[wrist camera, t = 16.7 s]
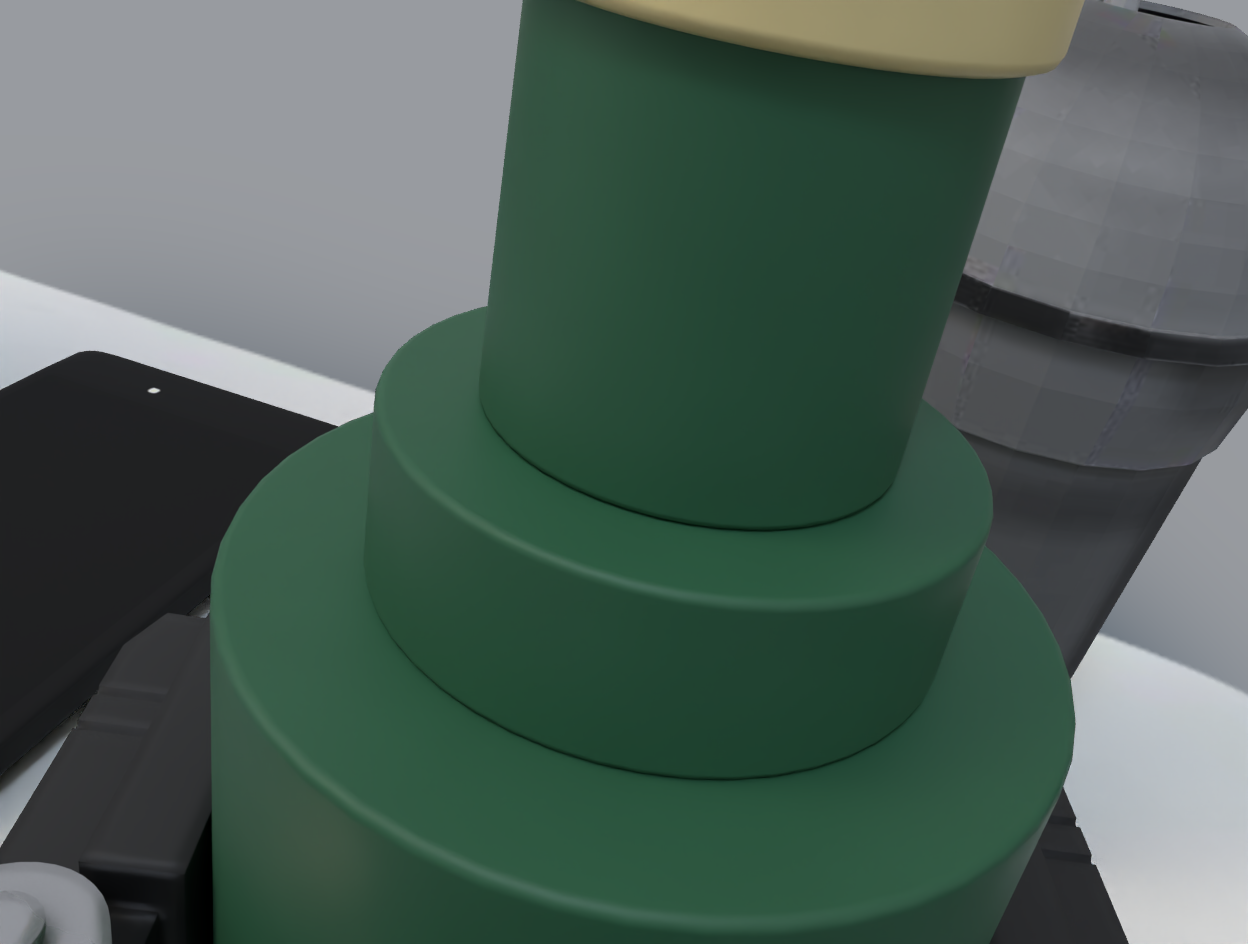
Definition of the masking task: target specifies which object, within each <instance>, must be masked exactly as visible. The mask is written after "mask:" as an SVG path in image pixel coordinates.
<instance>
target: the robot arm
mask: <svg viewBox="0 0 1248 944" xmlns="http://www.w3.org/2000/svg"><path fill="white" fill-rule="evenodd" d="M1075 822H1076V817H1075V814H1074V812H1073V810H1072V807H1071V805H1070V802H1069V800H1068V798H1067V795H1066V793H1065V790H1064V788H1062V791H1061V794H1060V797H1059V799H1058V801H1057V803H1056V805H1055V807H1054V809H1053V811H1052V813H1051V815H1050V817H1049V820H1048V822H1047V824H1046V826H1045V828H1044V830H1043V832H1042V834H1041V836H1040V838H1039V840H1038V843H1037V845H1036V847H1035V849H1034V851H1033V853H1032V855H1031V857H1030V859H1029V861H1028V863H1027V866H1026V868H1025V870H1024V872H1023V874H1022V876H1021V878H1020V880H1019V882H1018V884H1017V886H1016V889H1015V891H1014V893H1013V895H1012V897H1011V899H1010V901H1009V903H1008V905H1007V907H1006V909H1005V912H1004V914H1003V916H1002V918H1001V920H1000V922H999V924H998V926H997V928H996V930H995V932H994V935H993V937H992V939H991V941H990V943H989V944H1129V943H1128V941H1127V938H1126V936H1125V934H1124V931H1123V929H1122V926H1121V924H1120V922H1119V919H1118V917H1117V914H1116V912H1115V910H1114V907H1113V905H1112V903H1111V900H1110V898H1109V895H1108V893H1107V891H1106V888H1105V886H1104V883H1103V881H1102V879H1101V876H1100V874H1099V872H1098V869H1097V867H1096V865H1093V864H1091V856H1092V855H1091V852H1090V850H1089V848H1088V845H1087V843H1086V841H1085V838H1084V836H1083V833H1082V831H1081V829H1080V827H1076V825H1075ZM0 944H213V868H212V776H211V685H210V612H209V614H208V616H207V618H201V617H194V616H187V615H179V614H172V613H167V614H165V615H164V616H163V617H161V618H160V619H158V620H157V621H156V622H154V623H153V624H152V625H150V626H149V627H147V628H146V629H145V630H143V631H142V632H140V633H139V634H138V635H136V636H135V637H134V638H132V639H131V640H129V641H128V642H127V643H125V644H124V645H123V646H122V648H121V650H120V651H119V653H118V655H117V656H116V658H115V660H114V661H113V663H112V665H111V666H110V668H109V669H108V671H107V673H106V674H105V676H104V678H103V679H102V681H101V683H100V684H99V689H98V692H97V694H93V696H92V697H91V699H90V701H89V702H88V704H87V706H86V707H85V709H84V711H83V712H82V714H81V716H80V717H79V719H78V725H77V727H76V729H74V728H73V729H72V730H71V732H70V734H69V735H68V737H67V739H66V740H65V742H64V744H63V745H62V747H61V749H60V750H59V752H58V753H57V755H56V757H55V758H54V760H53V762H52V763H51V765H50V767H49V768H48V770H47V772H46V773H45V775H44V777H43V778H42V780H41V781H40V783H39V785H38V786H37V788H36V790H35V791H34V793H33V795H32V796H31V798H30V800H29V801H28V803H27V805H26V806H25V808H24V809H23V811H22V813H21V814H20V816H19V818H18V819H17V821H16V823H15V824H14V826H13V828H12V829H11V831H10V832H9V834H8V836H7V837H6V839H5V841H4V842H3V844H2V846H1V847H0Z"/></svg>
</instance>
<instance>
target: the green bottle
mask: <svg viewBox="0 0 1248 944" xmlns="http://www.w3.org/2000/svg"><path fill="white" fill-rule="evenodd" d="M1084 1H1085V0H523V3H522V12H521V20H520V29H519V38H518V47H517V56H516V64H515V72H514V81H513V90H512V98H511V107H510V116H509V124H508V133H507V142H506V150H505V159H504V168H503V177H502V185H501V194H500V202H499V211H498V219H497V229H496V237H495V246H494V254H493V264H492V271H491V280H490V289H489V298H488V306H486V307H481V308H477V309H474V310H471V311H468V312H464V313H461V314H458V315H455V316H452V317H450V318H448V319H445V320H443V321H441V322H438V323H436V324H434V325H432V326H430V327H429V328H427V329H425V330H423V331H422V332H420V333H418V334H417V335H416V336H414V337H413V338H411V339H410V340H409V341H408V342H407V343H405V344H404V345H403V346H402V347H401V348H400V349H398V351H397V352H396V353H395V355H394V356H393V357H392V359H391V360H390V361H389V363H388V364H387V365H386V367H385V369H384V370H383V372H382V375H381V377H380V380H379V382H378V385H377V387H376V391H375V401H374V413H371V414H368V415H365V416H363V417H360V418H357V419H354V420H352V421H349V422H347V423H345V424H343V425H341V426H339V427H337V428H335V429H333V430H331V431H329V432H327V433H325V434H323V435H321V436H319V437H317V438H315V439H314V440H312V441H311V442H309V443H308V444H306V445H305V446H303V447H302V448H300V449H299V450H297V451H295V452H294V453H292V454H291V455H289V456H288V457H287V458H285V459H284V460H283V461H282V462H281V463H280V464H279V465H278V466H276V467H275V468H274V469H273V470H272V471H271V472H270V473H268V474H267V475H266V476H265V477H264V478H263V479H262V480H261V481H260V482H259V483H258V485H257V486H256V487H255V488H254V490H253V491H252V492H251V493H250V494H249V496H248V497H247V498H246V499H245V501H244V502H243V503H242V504H241V506H240V507H239V509H238V511H237V513H236V515H235V517H234V518H233V520H232V522H231V524H230V526H229V528H228V530H227V532H226V534H225V536H224V537H223V539H222V541H221V543H220V547H219V551H218V554H217V558H216V561H215V565H214V569H213V572H212V576H211V595H210V685H211V776H212V868H213V944H989V943H990V941H991V939H992V937H993V935H994V932H995V930H996V928H997V926H998V924H999V922H1000V920H1001V918H1002V916H1003V914H1004V912H1005V909H1006V907H1007V905H1008V903H1009V901H1010V899H1011V897H1012V895H1013V893H1014V891H1015V889H1016V886H1017V884H1018V882H1019V880H1020V878H1021V876H1022V874H1023V872H1024V870H1025V868H1026V866H1027V863H1028V861H1029V859H1030V857H1031V855H1032V853H1033V851H1034V849H1035V847H1036V845H1037V843H1038V840H1039V838H1040V836H1041V834H1042V832H1043V830H1044V828H1045V826H1046V824H1047V822H1048V820H1049V817H1050V815H1051V813H1052V811H1053V809H1054V807H1055V805H1056V803H1057V801H1058V799H1059V797H1060V794H1061V791H1062V788H1063V785H1064V782H1065V779H1066V776H1067V774H1068V771H1069V768H1070V765H1071V762H1072V756H1073V746H1074V735H1075V725H1076V723H1075V712H1074V704H1073V696H1072V688H1071V680H1070V677H1069V674H1068V671H1067V668H1066V665H1065V662H1064V659H1063V656H1062V653H1061V649H1060V647H1059V645H1058V643H1057V641H1056V639H1055V637H1054V635H1053V633H1052V631H1051V629H1050V627H1049V625H1048V623H1047V621H1046V619H1045V617H1044V616H1043V614H1042V612H1041V611H1040V610H1039V608H1038V607H1037V605H1036V604H1035V602H1034V601H1033V600H1032V598H1031V597H1030V595H1029V594H1028V592H1027V591H1026V590H1025V588H1024V587H1023V585H1022V584H1021V583H1020V582H1019V581H1018V579H1017V578H1016V577H1015V576H1014V575H1013V574H1012V573H1011V572H1010V570H1009V569H1008V568H1007V567H1006V566H1005V565H1004V564H1003V563H1002V562H1001V560H1000V559H999V558H998V557H997V556H996V555H995V554H994V553H993V552H992V551H991V550H990V549H989V548H987V547H986V546H985V544H986V541H987V539H988V536H989V532H990V528H991V524H992V520H993V496H992V489H991V486H990V482H989V479H988V476H987V472H986V470H985V468H984V466H983V464H982V463H981V461H980V459H979V457H978V455H977V453H976V452H975V450H974V449H973V448H972V446H971V445H970V444H969V442H968V441H967V440H966V439H965V437H964V436H963V435H962V433H961V432H960V431H959V430H958V429H957V428H956V427H955V426H954V425H953V424H952V423H951V422H950V421H949V420H948V419H947V418H946V417H945V416H944V415H942V414H941V413H940V412H939V411H938V410H936V409H935V408H934V407H933V406H931V405H930V404H929V403H928V402H926V401H925V400H924V399H923V398H922V396H923V393H924V390H925V387H926V384H927V381H928V378H929V375H930V372H931V369H932V365H933V362H934V359H935V356H936V353H937V350H938V347H939V344H940V341H941V338H942V335H943V332H944V328H945V325H946V322H947V319H948V316H949V313H950V310H951V307H952V304H953V301H954V298H955V295H956V291H957V288H958V285H959V282H960V279H961V276H962V273H963V270H964V267H965V264H966V261H967V258H968V254H969V251H970V248H971V245H972V242H973V239H974V236H975V233H976V230H977V227H978V224H979V221H980V217H981V214H982V211H983V208H984V205H985V202H986V199H987V196H988V193H989V190H990V187H991V183H992V180H993V177H994V174H995V171H996V168H997V165H998V162H999V159H1000V156H1001V153H1002V150H1003V146H1004V143H1005V140H1006V137H1007V134H1008V131H1009V128H1010V125H1011V122H1012V119H1013V116H1014V113H1015V109H1016V106H1017V103H1018V100H1019V97H1020V94H1021V91H1022V88H1023V85H1024V82H1025V79H1026V76H1033V75H1038V74H1043V73H1047V72H1049V71H1052V70H1054V69H1055V68H1056V67H1057V65H1058V64H1059V63H1060V62H1061V61H1062V59H1063V58H1064V57H1065V55H1066V53H1067V51H1068V48H1069V45H1070V42H1071V39H1072V36H1073V33H1074V30H1075V27H1076V24H1077V21H1078V19H1079V16H1080V13H1081V10H1082V7H1083V4H1084Z"/></svg>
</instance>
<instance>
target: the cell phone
mask: <svg viewBox="0 0 1248 944" xmlns="http://www.w3.org/2000/svg"><path fill="white" fill-rule="evenodd" d="M337 427H338V426H335V425H332V424H329V423H326V422H323V421H320V420H316V419H313V418H310V417H307V416H304V415H301V414H298V413H294V412H291V411H288V410H285V409H282V408H279V407H276V406H272V405H269V404H266V403H263V402H260V401H257V400H254V399H251V398H247V397H244V396H241V395H238V394H235V393H232V392H229V391H225V390H222V389H219V388H216V387H213V386H210V385H207V384H203V383H200V382H197V381H194V380H191V379H188V378H185V377H182V376H178V375H175V374H172V373H169V372H166V371H163V370H160V369H156V368H153V367H150V366H147V365H144V364H141V363H138V362H135V361H131V360H128V359H125V358H122V357H119V356H116V355H112V354H108V353H104V352H99V351H84V352H79V353H76V354H74V355H72V356H70V357H68V358H65V359H63V360H61V361H59V362H57V363H55V364H52V365H50V366H48V367H46V368H44V369H42V370H40V371H38V372H36V373H34V374H32V375H30V376H28V377H26V378H24V379H22V380H20V381H18V382H16V383H14V384H12V385H10V386H8V387H6V388H3V389H1V390H0V775H1V774H2V773H3V772H5V771H6V770H7V769H8V768H9V767H10V766H11V765H13V764H14V763H15V762H16V761H17V760H18V759H20V758H21V757H22V756H23V755H24V754H25V753H27V752H28V751H29V750H30V749H31V748H32V747H33V746H35V745H36V744H37V743H38V742H39V741H40V740H42V739H43V738H44V737H45V736H46V735H47V734H49V733H50V732H51V731H52V730H53V729H54V728H56V727H57V726H58V725H59V724H60V723H61V722H62V721H64V720H65V719H66V718H67V717H68V716H69V715H71V714H72V713H73V712H74V711H75V710H76V709H78V708H79V707H80V706H81V705H82V704H83V703H84V702H86V701H87V700H88V699H89V698H90V697H91V696H93V694H95V693H96V692H97V691H98V689H99V684H100V683H101V681H102V679H103V678H104V676H105V674H106V673H107V671H108V669H109V668H110V666H111V665H112V663H113V661H114V660H115V658H116V656H117V655H118V653H119V651H120V650H121V648H122V646H123V645H124V644H125V643H127V642H128V641H129V640H131V639H132V638H134V637H135V636H136V635H138V634H139V633H140V632H142V631H143V630H145V629H146V628H147V627H149V626H150V625H152V624H153V623H154V622H156V621H157V620H158V619H160V618H161V617H163V616H164V615H165V614H167V613H172V614H179V615H187V614H188V613H189V612H190V611H191V610H192V609H193V608H195V607H196V606H197V605H198V604H199V603H200V602H202V601H203V600H204V599H205V598H206V597H207V596H209V595H210V594H211V576H212V572H213V569H214V565H215V561H216V558H217V554H218V551H219V547H220V543H221V541H222V539H223V537H224V536H225V534H226V532H227V530H228V528H229V526H230V524H231V522H232V520H233V518H234V517H235V515H236V513H237V511H238V509H239V507H240V506H241V504H242V503H243V502H244V501H245V499H246V498H247V497H248V496H249V494H250V493H251V492H252V491H253V490H254V488H255V487H256V486H257V485H258V483H259V482H260V481H261V480H262V479H263V478H264V477H265V476H266V475H267V474H268V473H270V472H271V471H272V470H273V469H274V468H275V467H276V466H278V465H279V464H280V463H281V462H282V461H283V460H284V459H285V458H287V457H288V456H289V455H291V454H292V453H294V452H295V451H297V450H299V449H300V448H302V447H303V446H305V445H306V444H308V443H309V442H311V441H312V440H314V439H315V438H317V437H319V436H321V435H323V434H325V433H327V432H329V431H331V430H333V429H335V428H337Z"/></svg>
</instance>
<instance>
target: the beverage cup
mask: <svg viewBox="0 0 1248 944" xmlns="http://www.w3.org/2000/svg"><path fill="white" fill-rule="evenodd" d="M922 398H923V399H924V400H925V401H926V402H928V403H929V404H930V405H931V406H933V407H934V408H935V409H936V410H938V411H939V412H940V413H941V414H942V415H944V416H945V417H946V418H947V419H948V420H949V421H950V422H951V423H952V424H953V425H954V426H955V427H956V428H957V429H958V430H959V431H960V432H961V433H962V435H963V436H964V437H965V439H966V440H967V441H968V442H969V444H970V445H971V446H972V448H973V449H974V450H975V452H976V453H977V455H978V457H979V459H980V461H981V463H982V464H983V466H984V468H985V470H986V472H987V476H988V479H989V482H990V486H991V489H992V496H993V520H992V524H991V528H990V532H989V536H988V539H987V541H986V544H985V546H986V547H987V548H989V549H990V550H991V551H992V552H993V553H994V554H995V555H996V556H997V557H998V558H999V559H1000V560H1001V562H1002V563H1003V564H1004V565H1005V566H1006V567H1007V568H1008V569H1009V570H1010V572H1011V573H1012V574H1013V575H1014V576H1015V577H1016V578H1017V579H1018V581H1019V582H1020V583H1021V584H1022V585H1023V587H1024V588H1025V590H1026V591H1027V592H1028V594H1029V595H1030V597H1031V598H1032V600H1033V601H1034V602H1035V604H1036V605H1037V607H1038V608H1039V610H1040V611H1041V612H1042V614H1043V616H1044V617H1045V619H1046V621H1047V623H1048V625H1049V627H1050V629H1051V631H1052V633H1053V635H1054V637H1055V639H1056V641H1057V643H1058V645H1059V647H1060V649H1061V653H1062V656H1063V659H1064V662H1065V665H1066V668H1067V671H1068V674H1069V677H1070V679H1071V677H1072V676H1073V674H1074V672H1075V671H1076V669H1077V667H1078V666H1079V664H1080V662H1081V661H1082V659H1083V657H1084V656H1085V654H1086V652H1087V651H1088V649H1089V647H1090V646H1091V644H1092V642H1093V640H1094V639H1095V637H1096V635H1097V634H1098V632H1099V630H1100V629H1101V627H1102V625H1103V624H1104V622H1105V620H1106V619H1107V617H1108V615H1109V613H1110V612H1111V610H1112V608H1113V607H1114V605H1115V603H1116V602H1117V600H1118V598H1119V597H1120V595H1121V593H1122V592H1123V590H1124V588H1125V586H1126V585H1127V583H1128V582H1129V580H1130V578H1131V577H1132V575H1133V573H1134V572H1135V570H1136V568H1137V566H1138V565H1139V563H1140V561H1141V560H1142V558H1143V556H1144V555H1145V553H1146V551H1147V550H1148V548H1149V546H1150V545H1151V543H1152V541H1153V540H1154V538H1155V536H1156V534H1157V533H1158V531H1159V529H1160V528H1161V526H1162V524H1163V523H1164V521H1165V519H1166V517H1167V516H1168V514H1169V513H1170V511H1171V509H1172V508H1173V506H1174V504H1175V502H1176V501H1177V499H1178V498H1179V496H1180V494H1181V492H1182V491H1183V489H1184V487H1185V486H1186V484H1187V482H1188V481H1189V479H1190V477H1191V476H1192V474H1193V472H1194V471H1195V469H1196V467H1197V465H1198V464H1199V462H1200V461H1201V459H1202V457H1204V456H1206V455H1207V454H1209V453H1211V452H1213V451H1214V450H1216V449H1217V448H1218V446H1219V445H1220V444H1221V443H1222V441H1223V440H1224V439H1225V437H1226V436H1227V434H1228V433H1229V432H1230V431H1231V429H1232V428H1233V427H1234V425H1235V424H1236V423H1237V422H1238V420H1239V419H1240V418H1241V416H1242V415H1243V414H1244V413H1245V411H1246V410H1247V409H1248V36H1247V35H1246V34H1245V33H1244V32H1242V31H1241V30H1240V29H1239V28H1237V27H1236V26H1234V25H1232V24H1230V23H1228V22H1225V21H1222V20H1219V19H1216V18H1213V17H1209V16H1206V15H1202V14H1199V13H1194V12H1191V11H1187V10H1183V9H1179V8H1175V7H1170V6H1166V5H1161V4H1157V3H1152V2H1147V1H1142V0H1085V1H1084V4H1083V7H1082V10H1081V13H1080V16H1079V19H1078V21H1077V24H1076V27H1075V30H1074V33H1073V36H1072V39H1071V42H1070V45H1069V48H1068V51H1067V53H1066V55H1065V57H1064V58H1063V59H1062V61H1061V62H1060V63H1059V64H1058V65H1057V67H1056V68H1055V69H1054V70H1052V71H1049V72H1047V73H1043V74H1038V75H1033V76H1026V79H1025V82H1024V85H1023V88H1022V91H1021V94H1020V97H1019V100H1018V103H1017V106H1016V109H1015V113H1014V116H1013V119H1012V122H1011V125H1010V128H1009V131H1008V134H1007V137H1006V140H1005V143H1004V146H1003V150H1002V153H1001V156H1000V159H999V162H998V165H997V168H996V171H995V174H994V177H993V180H992V183H991V187H990V190H989V193H988V196H987V199H986V202H985V205H984V208H983V211H982V214H981V217H980V221H979V224H978V227H977V230H976V233H975V236H974V239H973V242H972V245H971V248H970V251H969V254H968V258H967V261H966V264H965V267H964V270H963V273H962V276H961V279H960V282H959V285H958V288H957V291H956V295H955V298H954V301H953V304H952V307H951V310H950V313H949V316H948V319H947V322H946V325H945V328H944V332H943V335H942V338H941V341H940V344H939V347H938V350H937V353H936V356H935V359H934V362H933V365H932V369H931V372H930V375H929V378H928V381H927V384H926V387H925V390H924V393H923V396H922Z"/></svg>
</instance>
